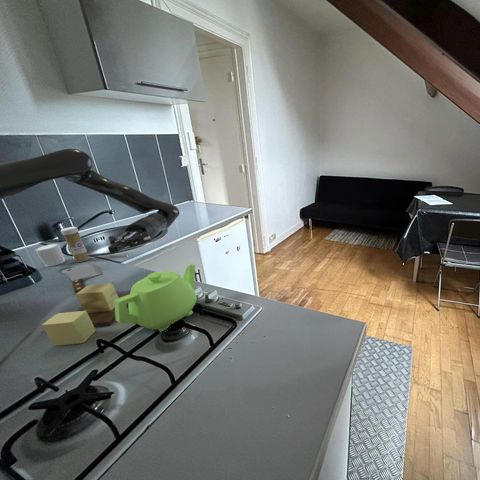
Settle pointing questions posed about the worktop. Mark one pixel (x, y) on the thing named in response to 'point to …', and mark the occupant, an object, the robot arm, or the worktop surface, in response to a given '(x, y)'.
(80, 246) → the sprinkles bottle
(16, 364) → the worktop surface
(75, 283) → the kitchen cleaver
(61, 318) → the block
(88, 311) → the butter board
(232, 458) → the worktop surface
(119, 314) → the teapot
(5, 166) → the robot arm
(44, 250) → the white squat cylinder
